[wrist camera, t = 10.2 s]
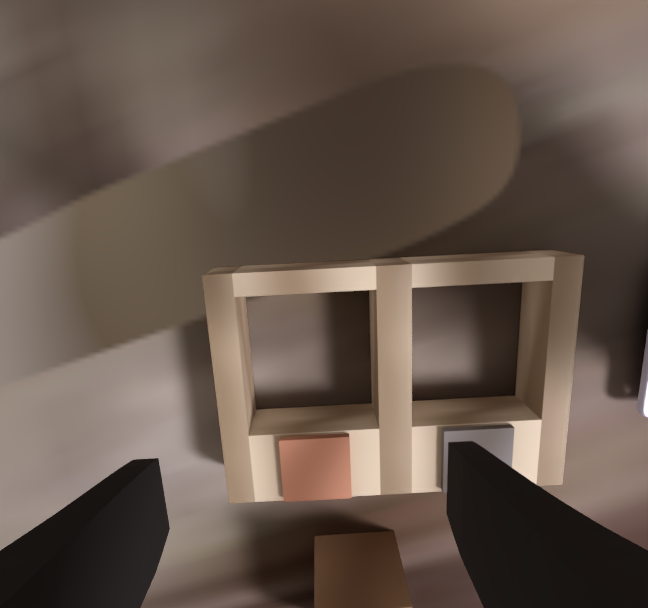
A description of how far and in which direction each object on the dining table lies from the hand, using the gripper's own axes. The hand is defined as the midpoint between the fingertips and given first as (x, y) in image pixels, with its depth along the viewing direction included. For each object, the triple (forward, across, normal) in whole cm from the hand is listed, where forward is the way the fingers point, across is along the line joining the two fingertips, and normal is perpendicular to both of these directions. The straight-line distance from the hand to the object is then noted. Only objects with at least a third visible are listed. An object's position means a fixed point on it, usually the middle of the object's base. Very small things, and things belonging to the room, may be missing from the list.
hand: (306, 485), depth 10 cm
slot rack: (+10, -4, +1) cm, 11 cm away
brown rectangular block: (+8, -2, +11) cm, 14 cm away
